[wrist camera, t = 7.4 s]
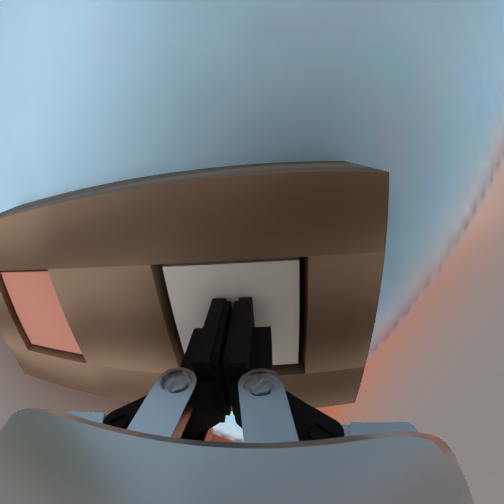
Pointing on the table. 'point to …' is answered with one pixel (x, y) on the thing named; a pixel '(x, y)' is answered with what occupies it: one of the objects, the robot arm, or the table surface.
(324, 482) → the robot arm
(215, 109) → the table surface
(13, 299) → the key red
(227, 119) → the table surface
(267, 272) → the key ivory
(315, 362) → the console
